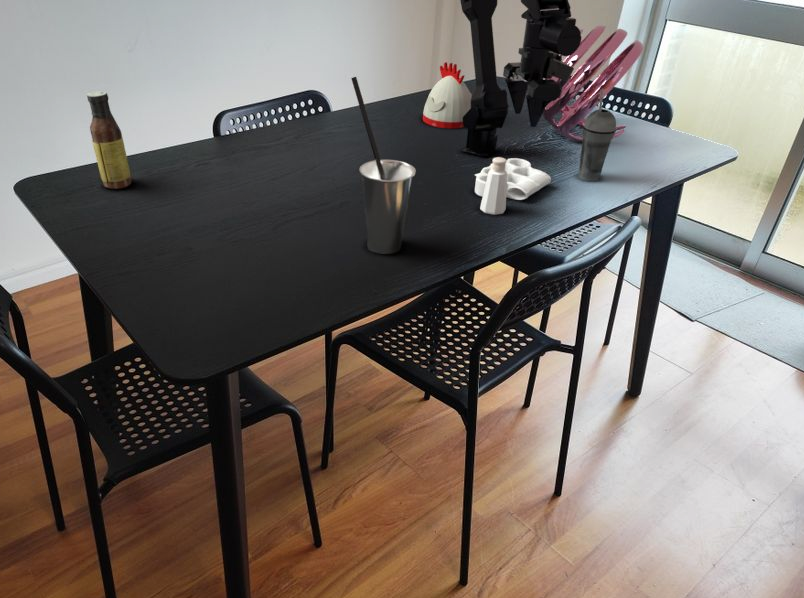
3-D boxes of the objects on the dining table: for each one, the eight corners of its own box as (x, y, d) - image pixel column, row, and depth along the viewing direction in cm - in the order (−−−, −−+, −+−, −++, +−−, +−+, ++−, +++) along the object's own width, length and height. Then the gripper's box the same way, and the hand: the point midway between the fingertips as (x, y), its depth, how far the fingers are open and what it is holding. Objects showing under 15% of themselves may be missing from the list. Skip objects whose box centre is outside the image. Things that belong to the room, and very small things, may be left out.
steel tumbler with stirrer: (349, 233, 140) (351, 75, 122) (405, 232, 141) (415, 75, 123) (353, 260, 131) (356, 94, 114) (414, 258, 132) (426, 93, 114)
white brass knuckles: (517, 208, 151) (459, 189, 158) (556, 183, 162) (499, 167, 169) (520, 193, 149) (460, 175, 156) (558, 169, 160) (501, 153, 167)
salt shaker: (510, 210, 150) (518, 159, 143) (494, 217, 147) (502, 166, 140) (490, 202, 153) (497, 152, 147) (474, 209, 150) (480, 158, 144)
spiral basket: (691, 58, 178) (611, -17, 176) (657, 113, 163) (570, 32, 161) (612, 128, 202) (542, 63, 200) (577, 181, 187) (500, 112, 185)
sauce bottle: (137, 181, 159) (121, 90, 147) (121, 192, 154) (103, 99, 142) (112, 177, 161) (94, 87, 149) (95, 188, 156) (76, 95, 144)
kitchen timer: (445, 109, 205) (450, 54, 196) (483, 121, 197) (490, 64, 188) (412, 119, 197) (416, 62, 188) (449, 131, 189) (455, 73, 180)
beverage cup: (606, 185, 161) (627, 95, 150) (573, 182, 163) (591, 92, 151) (603, 173, 167) (623, 85, 156) (571, 170, 168) (589, 83, 157)
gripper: (592, 54, 142) (577, 132, 151) (555, 34, 157) (543, 106, 166) (540, 56, 140) (528, 134, 150) (507, 35, 155) (497, 107, 164)
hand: (525, 120), depth 157 cm, fingers open, 9 cm apart
